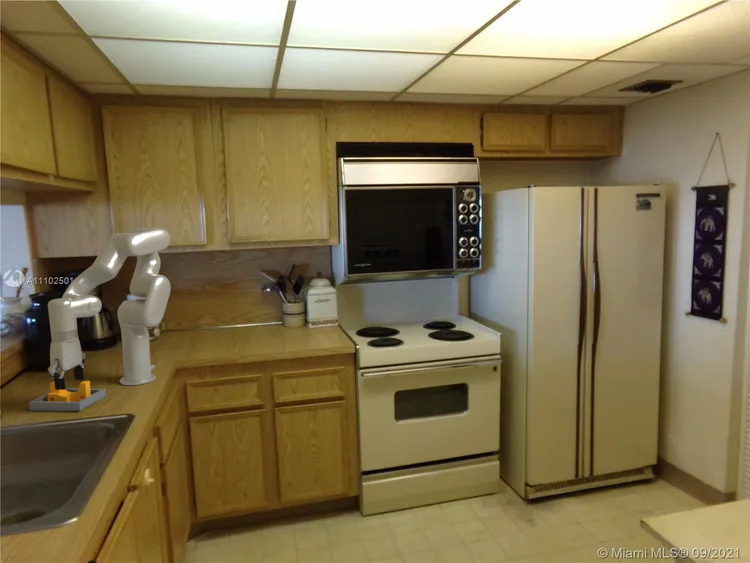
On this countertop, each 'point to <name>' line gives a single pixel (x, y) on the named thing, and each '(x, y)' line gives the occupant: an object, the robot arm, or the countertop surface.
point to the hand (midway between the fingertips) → (70, 384)
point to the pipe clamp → (69, 393)
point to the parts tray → (46, 405)
